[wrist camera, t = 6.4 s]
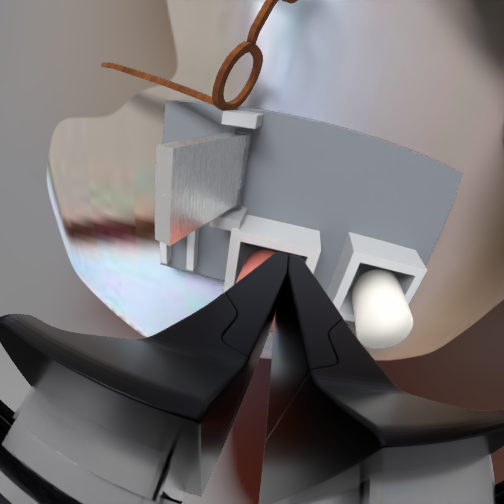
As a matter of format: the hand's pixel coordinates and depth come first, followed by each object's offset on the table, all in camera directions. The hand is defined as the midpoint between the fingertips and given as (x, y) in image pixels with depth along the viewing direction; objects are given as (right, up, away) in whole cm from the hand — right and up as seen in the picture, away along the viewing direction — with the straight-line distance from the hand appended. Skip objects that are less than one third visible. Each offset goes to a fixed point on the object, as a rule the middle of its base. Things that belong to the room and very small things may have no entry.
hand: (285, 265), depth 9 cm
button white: (+8, -2, +10) cm, 13 cm away
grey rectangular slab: (-2, +6, +9) cm, 11 cm away
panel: (+3, +4, +12) cm, 13 cm away
